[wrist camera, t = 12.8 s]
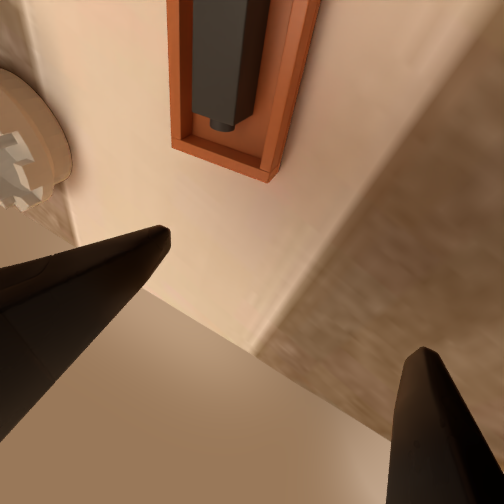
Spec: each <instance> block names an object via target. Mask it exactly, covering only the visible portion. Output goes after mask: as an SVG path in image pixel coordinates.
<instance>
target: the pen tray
mask: <svg viewBox="0 0 504 504" xmlns="http://www.w3.org/2000/svg"><path fill="white" fill-rule="evenodd" d="M166 2H167V30H168V59H169V87H170V115H171V136H172V137H171V142H172V148H174V149H177V150H179V151H182V152H185V153H187V154H190V155H193V156H195V157H198V158H201V159H203V160H206V161H209V162H211V163H214V164H217V165H219V166H222V167H225V168H227V169H230V170H233V171H235V172H238V173H241V174H243V175H246V176H249V177H251V178H254V179H257V180H259V181H262V182H265V183H269V182H270V180H271V179H272V178H273V177H274V176H275V175H276V174H277V173H278V171H279V167H280V163H281V159H282V155H283V151H284V147H285V143H286V139H287V135H288V131H289V127H290V123H291V119H292V115H293V111H294V107H295V103H296V99H297V95H298V91H299V87H300V83H301V79H302V75H303V71H304V67H305V63H306V59H307V55H308V51H309V47H310V43H311V39H312V35H313V31H314V26H315V22H316V18H317V14H318V10H319V6H320V2H321V0H270V7H269V13H268V20H267V26H266V33H265V39H264V46H263V52H262V59H261V65H260V71H259V78H258V84H257V91H256V97H255V104H254V110H253V115H252V116H250V117H248V118H246V119H245V120H243V121H241V122H240V123H238V124H236V125H235V130H234V131H232V132H220V131H216V130H214V129H212V128H211V127H210V118H208V117H205V116H202V115H199V114H196V113H193V112H192V41H193V0H166Z"/></svg>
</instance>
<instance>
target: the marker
mask: <svg viewBox="0 0 504 504" xmlns="http://www.w3.org/2000/svg"><path fill="white" fill-rule="evenodd" d="M269 7H270V0H193V41H192V112H193V113H196V114H199V115H202V116H205V117H208V118H210V127H211V128H212V129H214V130H216V131H220V132H232V131H234V130H235V125H236V124H238V123H240V122H241V121H243V120H245V119H246V118H248V117H250V116H252V115H253V110H254V104H255V97H256V91H257V84H258V78H259V71H260V65H261V59H262V52H263V46H264V39H265V33H266V26H267V20H268V13H269Z"/></svg>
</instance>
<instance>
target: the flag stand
mask: <svg viewBox="0 0 504 504" xmlns="http://www.w3.org/2000/svg"><path fill="white" fill-rule="evenodd" d="M71 171H72V158H71V153H70V149H69V145H68V142H67V140H66V138H65V135H64V133H63V131H62V129H61V127H60V125H59V123H58V121H57V120H56V118H55V117H54V115H53V114H52V112H51V111H50V109H49V108H48V106H47V105H46V104H45V103H44V101H43V100H42V99H41V98H40V96H39V95H38V94H37V93H36V92H35V91H34V90H33V89H32V88H31V87H30V86H29V85H28V84H27V83H25V82H24V81H23V80H22V79H21V78H19V77H18V76H16V75H14V74H13V73H11V72H9V71H7V70H4V69H2V68H0V206H2V207H4V208H6V209H8V208H10V207H12V206H14V205H16V206H17V208H18V209H19V210H20V211H21V212H23V211H26V210H28V209H30V208H32V207H34V206H36V205H39V204H41V203H43V202H45V201H47V200H48V199H49V198H50V197H51V196H52V193H53V190H54V185H55V184H58V183H60V182H62V181H64V180H66V179H67V178H68V177H69V176H70V173H71Z"/></svg>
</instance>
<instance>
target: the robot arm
mask: <svg viewBox="0 0 504 504" xmlns="http://www.w3.org/2000/svg"><path fill="white" fill-rule="evenodd" d="M170 248H171V232H170V229H168V228H166V227H164V226H162V225H156V226H153V227H149V228H146V229H142V230H138V231H135V232H131V233H128V234H124V235H121V236H117V237H114V238H110V239H107V240H103V241H100V242H96V243H92V244H89V245H85V246H82V247H78V248H75V249H71V250H68V251H64V252H61V253H58V254H54V255H53V256H52V255H50V256H46V257H43V258H39V259H36V260H32V261H28V262H24V263H21V264H16V265H12V266H8V267H3V268H0V442H1V441H2V440H3V439H4V438H5V437H6V435H8V433H9V432H10V431H11V430H12V429H13V428H14V427H15V426H16V425H17V424H18V422H19V421H20V420H21V419H22V418H23V417H24V416H25V415H26V414H27V413H28V412H29V410H30V409H31V408H32V407H33V406H34V405H35V404H36V403H37V402H38V401H39V400H40V398H41V397H42V396H43V395H44V394H45V393H46V392H47V391H48V390H49V389H50V387H51V386H52V385H53V384H54V383H55V381H56V380H57V379H58V378H59V377H60V376H61V375H62V374H63V373H64V372H65V371H66V370H67V369H68V367H69V366H70V365H71V364H72V363H73V362H74V361H75V360H76V359H77V358H78V357H79V355H80V354H81V353H82V352H83V351H84V350H85V349H86V348H87V347H88V345H90V343H91V342H92V341H93V340H94V339H95V338H96V337H97V336H98V335H99V334H100V332H101V331H102V330H103V329H104V328H105V327H106V326H107V325H108V324H109V322H111V320H112V319H113V318H114V317H115V316H116V315H117V314H118V313H119V311H121V309H122V308H123V307H124V306H125V305H126V304H127V303H128V302H129V301H130V300H131V299H132V297H133V296H134V295H135V294H136V293H137V292H138V291H139V290H140V288H142V286H143V285H144V284H145V283H146V282H147V281H148V279H149V278H150V277H151V275H152V274H153V272H154V271H155V270H156V268H157V267H158V266H159V264H160V263H161V261H162V260H163V259H164V257H165V256H166V255H167V253H168V252H169V250H170ZM389 464H390V465H389V474H388V486H387V497H386V504H504V474H503V472H502V470H501V468H500V466H499V464H498V462H497V461H496V459H495V457H494V455H493V453H492V451H491V450H490V448H489V446H488V444H487V442H486V440H485V439H484V437H483V435H482V433H481V431H480V429H479V428H478V426H477V424H476V422H475V420H474V418H473V416H472V415H471V413H470V411H469V409H468V407H467V405H466V404H465V402H464V400H463V398H462V396H461V394H460V393H459V391H458V389H457V387H456V385H455V383H454V381H453V380H452V378H451V376H450V374H449V372H448V370H447V369H446V367H445V365H444V363H443V361H442V359H441V358H440V356H439V354H438V353H437V352H435V351H433V350H431V349H429V348H426V347H420V348H419V349H418V350H416V351H415V352H414V353H413V354H411V355H410V356H409V357H408V358H407V359H406V361H405V363H404V366H403V371H402V376H401V380H400V385H399V390H398V394H397V399H396V404H395V409H394V417H393V429H392V440H391V451H390V463H389Z"/></svg>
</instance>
